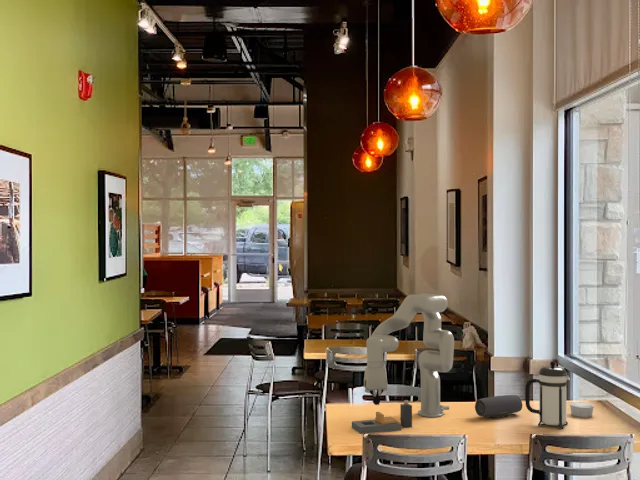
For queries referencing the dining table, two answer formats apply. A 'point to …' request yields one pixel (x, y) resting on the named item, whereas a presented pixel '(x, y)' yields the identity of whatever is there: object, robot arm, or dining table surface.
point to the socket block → (374, 426)
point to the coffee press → (550, 395)
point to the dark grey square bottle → (406, 414)
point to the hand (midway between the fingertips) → (376, 404)
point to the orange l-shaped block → (384, 419)
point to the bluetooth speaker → (498, 406)
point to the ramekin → (581, 409)
